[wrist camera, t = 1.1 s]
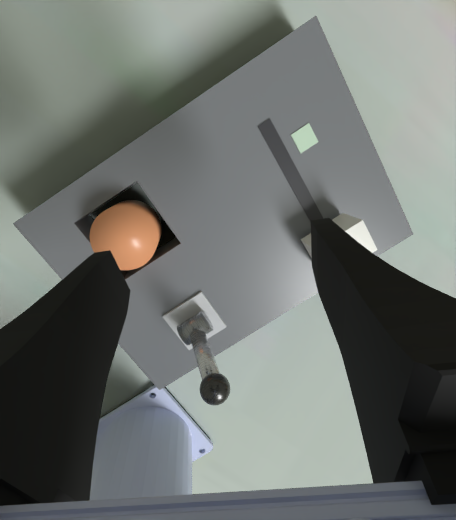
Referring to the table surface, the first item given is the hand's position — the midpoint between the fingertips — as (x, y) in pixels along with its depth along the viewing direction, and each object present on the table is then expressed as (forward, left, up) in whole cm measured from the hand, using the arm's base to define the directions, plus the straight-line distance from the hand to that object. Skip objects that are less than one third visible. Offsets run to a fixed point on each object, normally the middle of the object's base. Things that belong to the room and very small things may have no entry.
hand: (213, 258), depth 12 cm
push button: (-4, +2, -10) cm, 11 cm away
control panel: (+1, -1, -11) cm, 11 cm away
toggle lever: (-4, -5, -7) cm, 10 cm away
